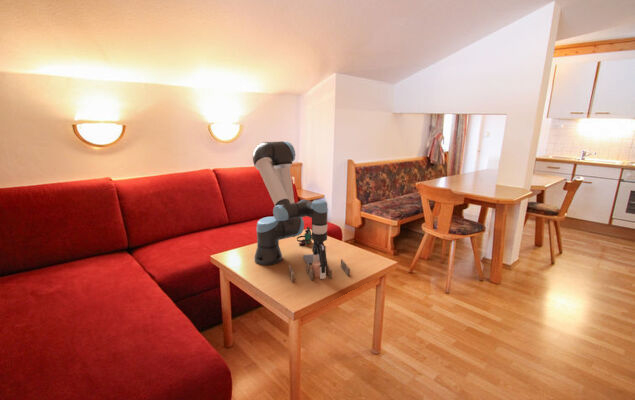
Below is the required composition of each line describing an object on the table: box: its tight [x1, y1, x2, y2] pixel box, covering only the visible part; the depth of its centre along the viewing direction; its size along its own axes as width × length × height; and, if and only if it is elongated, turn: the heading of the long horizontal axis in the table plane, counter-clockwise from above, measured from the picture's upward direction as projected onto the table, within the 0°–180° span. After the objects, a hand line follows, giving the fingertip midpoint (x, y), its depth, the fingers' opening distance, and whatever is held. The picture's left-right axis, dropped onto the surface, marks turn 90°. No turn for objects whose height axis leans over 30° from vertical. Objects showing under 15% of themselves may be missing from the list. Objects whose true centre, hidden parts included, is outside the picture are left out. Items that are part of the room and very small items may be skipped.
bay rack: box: [288, 259, 351, 284], centre depth 160 cm, size 12×29×4 cm, turn 104°
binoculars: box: [296, 226, 313, 247], centre depth 198 cm, size 9×11×10 cm
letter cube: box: [311, 262, 320, 278], centre depth 160 cm, size 6×6×6 cm
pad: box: [302, 253, 320, 266], centre depth 177 cm, size 11×11×1 cm
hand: (319, 272), depth 160 cm, fingers open, 13 cm apart
